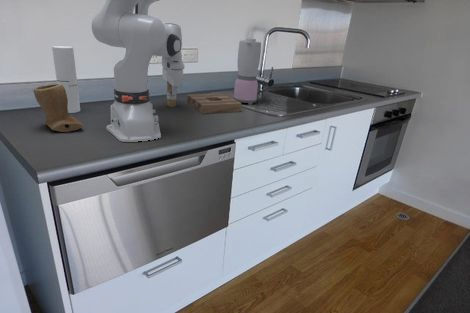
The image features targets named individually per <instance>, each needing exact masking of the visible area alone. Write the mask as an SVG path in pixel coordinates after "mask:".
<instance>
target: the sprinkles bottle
mask: <svg viewBox="0 0 470 313" xmlns="http://www.w3.org/2000/svg"><path fill="white" fill-rule="evenodd" d="M171 90H172V85H171V84H170V83H169V78H168V77H167V81H166V103H167V104H166V105H167V107H171V108H173V107H176V106H177V94H176V95H173V94H172V93H171Z"/></svg>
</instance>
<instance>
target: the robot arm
mask: <svg viewBox="0 0 470 313" xmlns="http://www.w3.org/2000/svg"><path fill="white" fill-rule="evenodd" d="M159 1H160V0H106V1H105V3H104V5H103V6H102V8H101V9H100V11H98V13H96V14H95V15H94V16H93V18H92V21H91V32H92V34H93V36H94V38H95V39H96V40H97V41H98V42H99V43H102V44H105V45H107V46H110V47H115V48H123V49H125V54H124V57H123V59H121V60H119V61H118V62H117V63H115V65H114V66H113V79H114V80H113V81H114V89H113V98H114V99H113V100H114V102H113V103H112V104H111V105H110V124H108V125H106V127H105V128H106V130H107V131H108V132H109V133H110V134H111V135H113V137H114V138H116V139H117V140H118V141H119V142H123V143H139V142H138V141H142V142H149V141H148V140H150V141H154V139H156V140H159V139H161V138H162V134H161V130H160V129H161V128H160V124H159V115H155V114H156V109H153V103H152V102H150V101H151V99H150V97H151V96H150V91H149V88H148V86H149V85H148V76H149V74H148V73H149V67H150V66H149V65H150V63H151V60H152V58H153V56H154V57H161V66H162V75H161V76H162V79H163V81H165V82H167V77H168V78H169V83H170V84H171V85H172V90H171V93H172V94H173V95H176V96H177V88H181V87H183V83H184V82H183V80H184V70H185V63H184V62H183V59H182V58H183V54H182V47H183V37H182V36H183V35H182V29H181V26H180V25H179V24H176V23H170V22H168V23H167V22H166V23H163V22H162V20H161V19H159V18H157V17H154V16H151V15H149V8H150V6H151V5H152V4H153V3H157V2H159ZM158 138H159V139H158Z"/></svg>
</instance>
